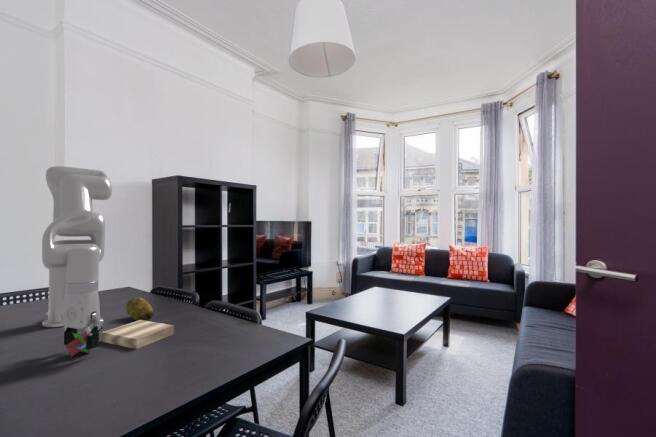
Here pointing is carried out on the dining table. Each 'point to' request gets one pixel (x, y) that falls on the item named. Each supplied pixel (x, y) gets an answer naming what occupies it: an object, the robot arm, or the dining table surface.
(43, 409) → the dining table surface
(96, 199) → the robot arm
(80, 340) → the geometric puzzle
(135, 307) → the potato
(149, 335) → the birch platform
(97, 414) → the dining table surface
